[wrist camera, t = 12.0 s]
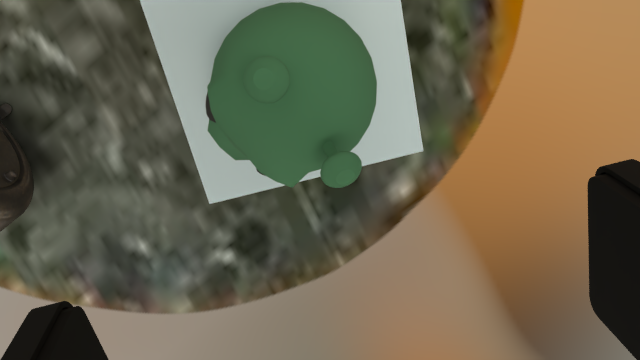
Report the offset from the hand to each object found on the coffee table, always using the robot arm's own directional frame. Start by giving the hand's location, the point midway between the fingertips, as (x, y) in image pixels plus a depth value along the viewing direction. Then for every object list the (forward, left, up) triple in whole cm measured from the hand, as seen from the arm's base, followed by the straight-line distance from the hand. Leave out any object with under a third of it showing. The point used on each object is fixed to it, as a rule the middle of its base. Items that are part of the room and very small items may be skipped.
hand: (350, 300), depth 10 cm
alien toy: (0, 0, -19) cm, 19 cm away
